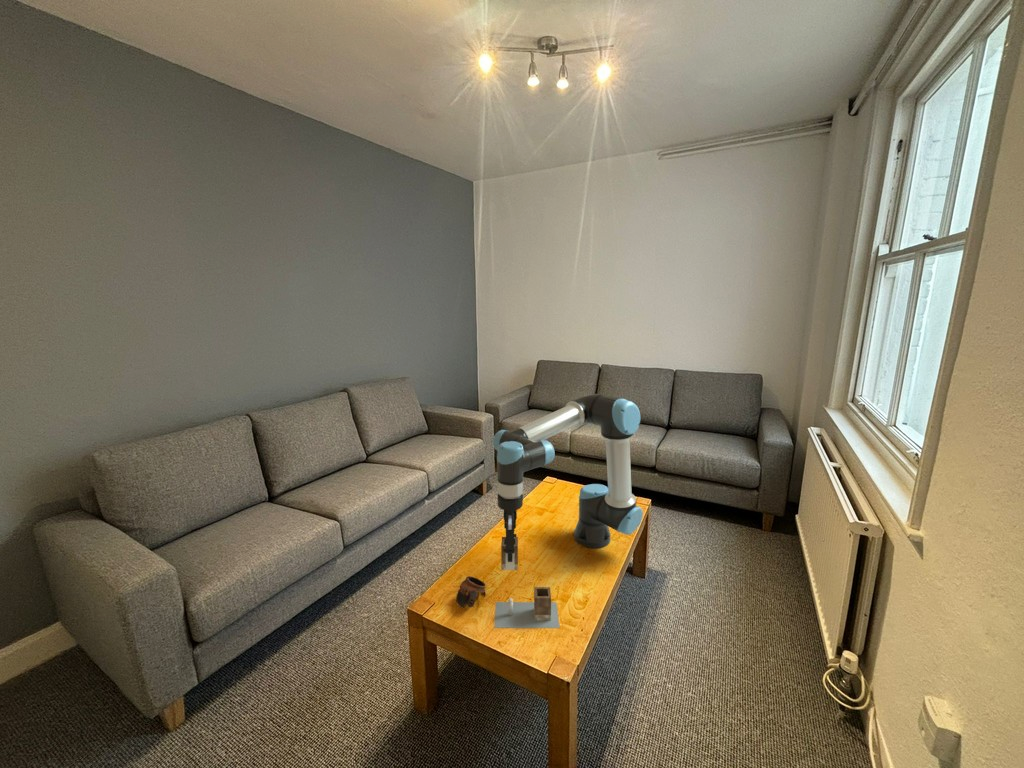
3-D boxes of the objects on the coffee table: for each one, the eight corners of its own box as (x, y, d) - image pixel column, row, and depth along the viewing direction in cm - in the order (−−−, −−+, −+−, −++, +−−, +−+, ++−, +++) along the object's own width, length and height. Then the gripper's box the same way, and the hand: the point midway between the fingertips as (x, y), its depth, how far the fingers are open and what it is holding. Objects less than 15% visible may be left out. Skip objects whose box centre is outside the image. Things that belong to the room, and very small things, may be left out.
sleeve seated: (549, 608, 135) (549, 587, 134) (550, 620, 130) (551, 598, 129) (534, 608, 135) (534, 587, 134) (534, 620, 130) (535, 598, 129)
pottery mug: (452, 595, 144) (462, 571, 145) (477, 603, 146) (486, 580, 147) (456, 611, 132) (466, 586, 134) (483, 620, 134) (493, 595, 135)
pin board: (556, 605, 138) (556, 587, 137) (559, 631, 128) (560, 611, 126) (495, 605, 138) (495, 586, 137) (494, 631, 128) (494, 611, 126)
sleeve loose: (517, 560, 132) (517, 537, 130) (517, 570, 127) (517, 546, 125) (501, 559, 132) (501, 536, 130) (501, 569, 127) (501, 546, 125)
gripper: (498, 480, 133) (499, 546, 138) (496, 508, 116) (496, 582, 120) (522, 480, 133) (521, 546, 138) (523, 508, 116) (522, 582, 120)
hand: (510, 563), depth 129 cm, fingers closed on sleeve loose, 5 cm apart
